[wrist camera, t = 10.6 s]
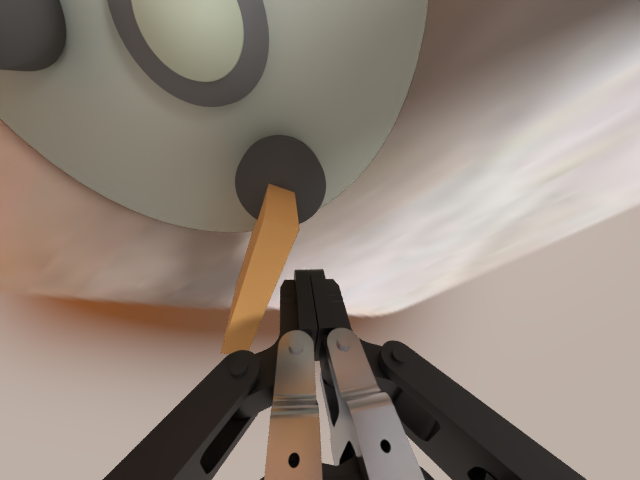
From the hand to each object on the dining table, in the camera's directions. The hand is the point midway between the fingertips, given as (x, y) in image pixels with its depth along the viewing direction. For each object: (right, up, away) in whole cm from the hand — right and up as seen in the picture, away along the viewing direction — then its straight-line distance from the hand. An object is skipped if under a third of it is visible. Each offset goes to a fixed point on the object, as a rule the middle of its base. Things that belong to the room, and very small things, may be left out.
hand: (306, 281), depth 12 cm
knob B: (-2, +3, 0) cm, 4 cm away
